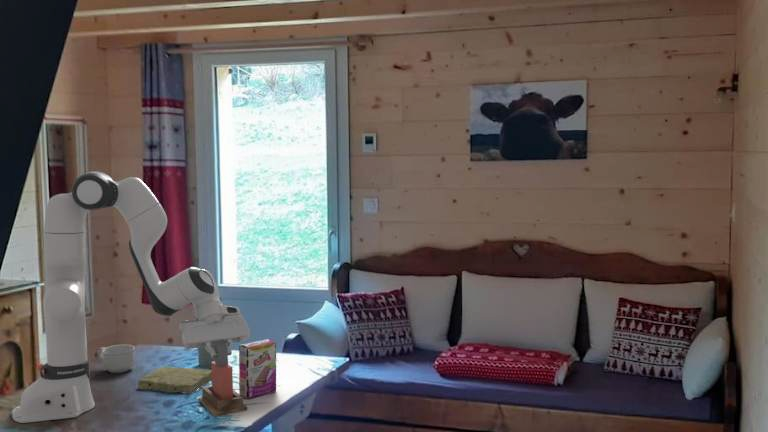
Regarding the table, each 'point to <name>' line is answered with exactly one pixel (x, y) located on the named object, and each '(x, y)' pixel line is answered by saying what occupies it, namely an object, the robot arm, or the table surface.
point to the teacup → (118, 357)
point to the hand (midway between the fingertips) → (222, 355)
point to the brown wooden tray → (221, 402)
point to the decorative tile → (176, 379)
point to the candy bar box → (257, 368)
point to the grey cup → (205, 356)
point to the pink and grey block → (222, 373)
